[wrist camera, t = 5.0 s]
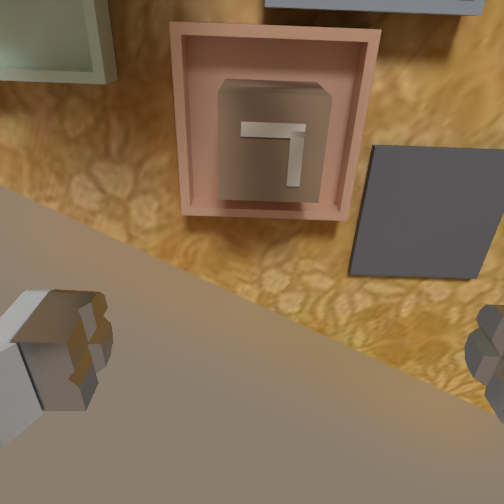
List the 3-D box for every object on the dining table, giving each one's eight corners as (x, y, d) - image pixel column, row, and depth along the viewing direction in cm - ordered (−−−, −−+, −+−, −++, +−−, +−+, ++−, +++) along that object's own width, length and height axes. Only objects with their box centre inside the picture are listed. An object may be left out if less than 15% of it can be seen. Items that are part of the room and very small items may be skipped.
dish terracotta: (371, 29, 22) (381, 29, 20) (341, 207, 28) (347, 220, 26) (176, 21, 22) (168, 21, 20) (186, 202, 28) (181, 215, 26)
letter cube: (316, 82, 23) (332, 97, 18) (307, 170, 26) (318, 203, 21) (225, 78, 23) (217, 92, 18) (225, 167, 26) (218, 200, 21)
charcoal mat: (522, 150, 25) (527, 152, 25) (472, 274, 31) (476, 278, 30) (372, 144, 25) (375, 147, 25) (348, 270, 30) (349, 274, 30)
